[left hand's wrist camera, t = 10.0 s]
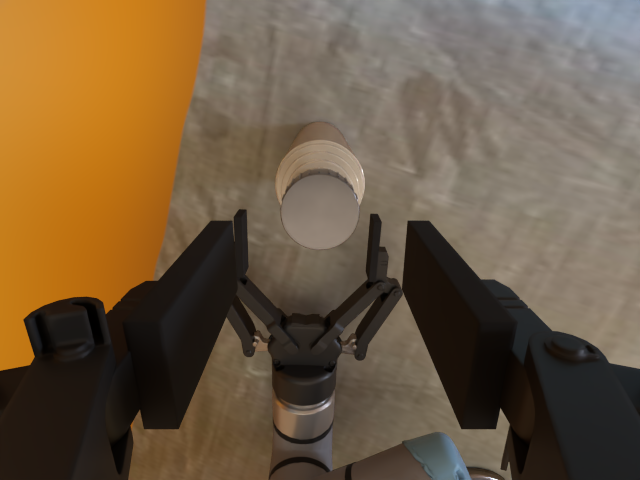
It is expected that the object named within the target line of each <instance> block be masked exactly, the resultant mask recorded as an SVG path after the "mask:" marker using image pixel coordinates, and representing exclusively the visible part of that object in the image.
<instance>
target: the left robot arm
mask: <svg viewBox="0 0 640 480" xmlns="http://www.w3.org/2000/svg"><path fill="white" fill-rule="evenodd" d="M237 290H238V284H237V272H236V260H235V248H234V235H233V223H232V221H210V222H209V224H208V225H207V226H206V227H205V228H204V229H203V230H202V232H201V233H200V234H199V235H198V236H197V237H196V238H195V239H194V241H193V242H192V243H191V244H190V245H189V246H188V247H187V249H186V250H185V251H184V252H183V253H182V254H181V255H180V257H179V258H178V259H177V260H176V261H175V262H174V263H173V265H172V266H171V267H170V268H169V269H168V270H167V271H166V272H165V274H164V275H163V276H162V277H161V278H160V279H159V280H158V281H145V282H143V283H141V284H140V285H138V286H136V287H134V288H132V289H131V290H129V291H128V293H127V294H126V295H125V296H124V297H123V298H122V299H121V301H119V302H118V303H117V304H116V305H115V306H114V307H113V309H112V310H110V311H109V312H108V313H107V314H105V309H104V305H103V302H102V301H100V300H99V299H97V298H92V297H73V298H69V299H64V300H59V301H56V302H53V303H50V304H47V305H44V306H42V307H40V308H39V309H37V310H35V311H33V312H31V313H30V314H29V315H28V316H27V317H26V318H25V319H24V323H25V326H26V330H27V333H28V336H29V339H30V343H31V346H32V349H33V352H34V355H35V358H34V359H33V361H32V363H31V365H29V366H24V367H18V368H13V369H8V370H3V371H0V480H128V476H129V470H130V463H131V456H132V449H133V436H132V431H131V426H130V425H131V424H132V422H133V420H134V418H135V417H136V415H137V413H138V411H139V410H140V412H141V417H142V421H143V426H144V429H179V427H180V424H181V422H182V420H183V417H184V415H185V413H186V410H187V408H188V406H189V403H190V401H191V399H192V396H193V394H194V392H195V389H196V387H197V385H198V382H199V380H200V377H201V375H202V373H203V370H204V368H205V366H206V363H207V361H208V359H209V356H210V354H211V352H212V349H213V347H214V345H215V342H216V340H217V338H218V335H219V333H220V330H221V328H222V326H223V323H224V321H225V319H226V316H227V314H228V312H229V309H230V307H231V305H232V302H233V300H234V298H235V295H236V293H237ZM402 290H403V293H404V295H405V298H406V300H407V302H408V305H409V307H410V309H411V312H412V314H413V316H414V319H415V321H416V323H417V326H418V328H419V330H420V333H421V335H422V338H423V340H424V342H425V345H426V347H427V349H428V352H429V354H430V356H431V359H432V361H433V363H434V366H435V368H436V370H437V373H438V375H439V377H440V380H441V382H442V385H443V387H444V389H445V392H446V394H447V396H448V399H449V401H450V403H451V406H452V408H453V410H454V413H455V415H456V417H457V420H458V422H459V424H460V427H461V429H496V426H497V421H498V417H499V412H500V408H501V409H502V411H503V413H504V415H505V416H506V418H507V420H508V421H509V423H510V426H509V431H508V435H507V440H506V444H505V449H504V453H503V458H502V463H501V470H505V471H506V470H507V466H508V462H510V469H511V475H512V480H640V369H637V368H632V367H627V366H621V365H616V364H611V363H609V362H608V360H607V359H606V357H605V356H604V355H603V353H602V352H601V351H600V350H599V349H598V348H597V347H595V346H594V345H592V344H590V343H589V342H587V341H585V340H583V339H581V338H578V337H576V336H573V335H570V334H566V333H562V332H557V331H552V330H551V329H550V328H549V327H548V326H547V325H546V324H545V323H544V322H543V321H542V320H541V319H540V318H539V317H538V316H537V315H536V314H535V313H534V312H533V311H532V310H531V309H530V308H528V306H527V305H526V304H525V303H524V302H523V301H522V300H520V298H519V297H518V296H517V295H516V294H515V293H514V292H513V291H512V290H511V289H510V288H509V287H507V286H505V285H503V284H501V283H499V282H498V281H496V280H481V279H480V278H479V277H478V276H477V275H476V274H475V272H474V271H473V270H472V269H471V268H470V267H469V266H468V265H467V263H466V262H465V261H464V260H463V259H462V258H461V257H460V255H459V254H458V253H457V252H456V251H455V250H454V249H453V247H452V246H451V245H450V244H449V243H448V242H447V241H446V239H445V238H444V237H443V236H442V235H441V234H440V233H439V232H438V230H437V229H436V228H435V227H434V226H433V225H432V224H431V222H430V221H408V223H407V235H406V247H405V260H404V272H403V284H402Z"/></svg>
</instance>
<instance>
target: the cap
mask: <svg viewBox="0 0 640 480" xmlns="http://www.w3.org/2000/svg"><path fill="white" fill-rule="evenodd" d="M357 200H358V197H357V194H356V193H355V192H354V188H353V185H352V184H350V183H349V182H348V181H347V178H346V177H345V178H344V177H343V176H342V175H340V174H339V172H334V171H332V170H330V169H320V168H318V169H312V170H310V169H309V170H308V171H306V172H303V173H300V175H298V176H297V177H296V178H295V179H294V178H293V179H292V182H291V183H290V184H289V186H287V187H286V190H285V194H283V197H282V200H281V201H282V204H281V208H280V210H281V220H282V223H283V226H284V228H285V230H286V232H287V233H288V235H289V236H290V237H291V238H292V239H293V240H294V241H295V242H297V243H298V244H300V245H302V246H304V247H306V248H310V249H315V250H325V249H330V248H334V247H336V246H338V245H340V244H342V243H343V242H345V241H346V240H347V239H348V238H349V237H350V236H351V235H352V233H353V232H354V230H355V228H356V226H357V223H358V220H359V209H360V207H359V204H358V201H357Z"/></svg>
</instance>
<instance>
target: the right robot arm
mask: <svg viewBox="0 0 640 480" xmlns="http://www.w3.org/2000/svg"><path fill="white" fill-rule="evenodd" d="M381 223H382V222H381V220H380V218H379V216H378V214H370V226H369V238H368V250H367V262H366V274H367V277H368V280H367V281H365V282H364V283H363V284H362V285H361V286H360V287H359V288H358V289H357V290H356V291H355V292H354V293H353V294H352V295H351V296H350V297H349V298H348V299H346V300H345V301H344V302H343V303H342V304H341V305H340V306H339V307H338V308H337V309H336V310H332V311H331V312H330V313H329V314H328V315H327V316H326V317H325V318H323V317H321V316H320V314H311V315H302V314H295V313H292V316H289V317H287V316H286V315H285V314H284V313H283V311H282V310H281V309H279V308H276V307H275V306H274V305H273V304H272V303H271V301H270V300H269V299H268V298H267V297H266V296H265V295H264V294H263V293H262V292H261V291H260V290H259V289H258V288H257V287H256V286H255V285H254V284H253V282H252V281H251V280H250V279H249V278H248V277H247V276H246V275H245V274H246V271H247V269H248V240H247V210H243V209H239V210H238V212H237V213H236V215H235V216H234V234H235V242H234V248H235V260H236V272H237V284H238V290H237V293H236V295H235V298H234V300H233V302H232V305H231V307H230V309H229V312H228V314H227V316H226V317H227V318H228V320H229V322H230V323H231V325H232V326H233V328H234V330H235V331H236V333H237V334H238V336H239V338H240V339H241V342H242V347H243V353H244V355H245V356H247V357H252V356H253V355H254V352H256V351H269V353H270V354H271V357H272V386H273V391H272V402H273V448H272V457H271V465H270V472H269V480H505V479H504V478H502V477H501V476H500V475H498V474H496V473H494V472H491V471H489V470H485V469H479V468H466V466H465V464H464V462H463V460H462V458H461V456H460V454H459V452H458V450H457V448H456V446H455V444H454V443H453V441H452V440H451V439H450V437H448V436H447V435H446V434H444V433H441V432H435V433H431V434H428V435H424V436H421V437H417V438H414V439H411V440H407V441H406V440H405V441H402V444H399V445H397V446H395V447H392V448H390V449H387V450H385V451H383V452H380V453H378V454H375V455H373V456H370V457H368V458H366V459H363V460H361V461H358V462H354V463H352V464H348V465H346V466H343V467H341V468H338V469H335V470H333V471H332V426H333V418H334V403H335V385H336V369H337V359H338V357H339V355H340V354H341V353H345V354H353V355H355V358H356V359H357V360H363V359H364V358H365V356H366V352H367V347H368V344H369V342H370V341H371V340H372V338H373V337H374V335H375V334H376V332H377V331H378V330H379V328H380V327H381V325H382V324H383V322H384V321H385V319H386V318H387V317H388V315H389V314H390V312H391V311H392V309H393V308H394V307H395V305H396V304H397V302H398V301H399V299H400V298H401V296H402V294H403V292H402V289H401V287H400V285H399V282H398V280H397V279H395V278H392V279H390V278H388V277H386V276H387V266H388V257H389V256H388V253H387V251H386V248H385V247H379V244H380V234H381ZM238 297H239V298H240V299H241V300H242V301H243V302H244V303H245V304H246V305H247V306H248V308H249V309H250V310H251V311H252V312H253V313H254V314H255V315H256V316H257V317H258V318H259V319H260V320H261V321H262V322H263V323H264V324H265V325H266V327H267V329H268V331H269V332H270V333H271V334H272V335H271V336H270V337H269V339H266V338H264V337H263V336H262V334H261V333H260V331H259V330H257V331H256V329H255V326H254V323H253V321H252V320H251V318H250V316H249V315H248V313H247V311H246V310H245V308H244V306H243V305H242V303H241V301H240V300H239V298H238ZM375 299H376V300H375ZM374 300H375V301H374ZM373 301H374V303H373V304H372V306H371V307H370V309H369V310H368V312H367V313H366V315H365V316H364V318H363V319H362V321H361V322H360V324H359V325H358V327H357V329H356V332H355V334H354V333H352V334H351V335H350V336H349V338H348V339H347V340H346V341H341V338H340V337H339V335H340V334H341V333H342V332H343V330H344V328H345V327H346V326H347V325H348V324H349V323H350V322H351V321H352V320H353V319H355V318H356V317H357V316H358V315H359V314H360V313H361V312H362V311H363V310H364V309H365V308H366V307H368V306H369V305H370V304H371V303H372V302H373Z"/></svg>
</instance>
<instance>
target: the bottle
mask: <svg viewBox="0 0 640 480" xmlns="http://www.w3.org/2000/svg"><path fill="white" fill-rule="evenodd" d="M318 168H320V169H330V170H332V171H334V172H339V174H340V175H342V176H343V177H344V178H345V177H346V178H347V181H348V182H349V183H350V184H352V185H353V188H354V192H355V193H356V194H357V197H358V200H357V201H358V204H359V205H360V203H361V201H362V198H363V195H364V189H365V179H364V174H363V170H362V168H361V165H360V163H359V161H358V160H357V158H356V156H355V155H354V153H353V151H352V150H351V148H350V146H349V145H348V143H347V141H346V140H345V138H344V136H343V134H342V133H341V132H340V130H339V129H338V128H336V127H335V126H333V125H332V124H330V123H326V122H314V123H311V124H308V125H306V126H305V127H304V128H302V129H301V130H300V132H299V133H298V134H297V136H296V138H295V140H294V141H293V143H292V145H291V146H290V148H289V150H288V151H287V153H286V155H285V156H284V158H283V160H282V162H281V163H280V165H279V168H278V170H277V174H276V179H275V189H276V195H277V198H278V201H279V203H280V205H281V204H282V201H281V200H282V197H283V194H285V190H286V187H287V186H289V184H290V183H291V182H292V179H293V178H294V179H295V178H296V177H297V176H298V175H300V173H303V172H306V171H308V170H309V169H310V170H312V169H318Z"/></svg>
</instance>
